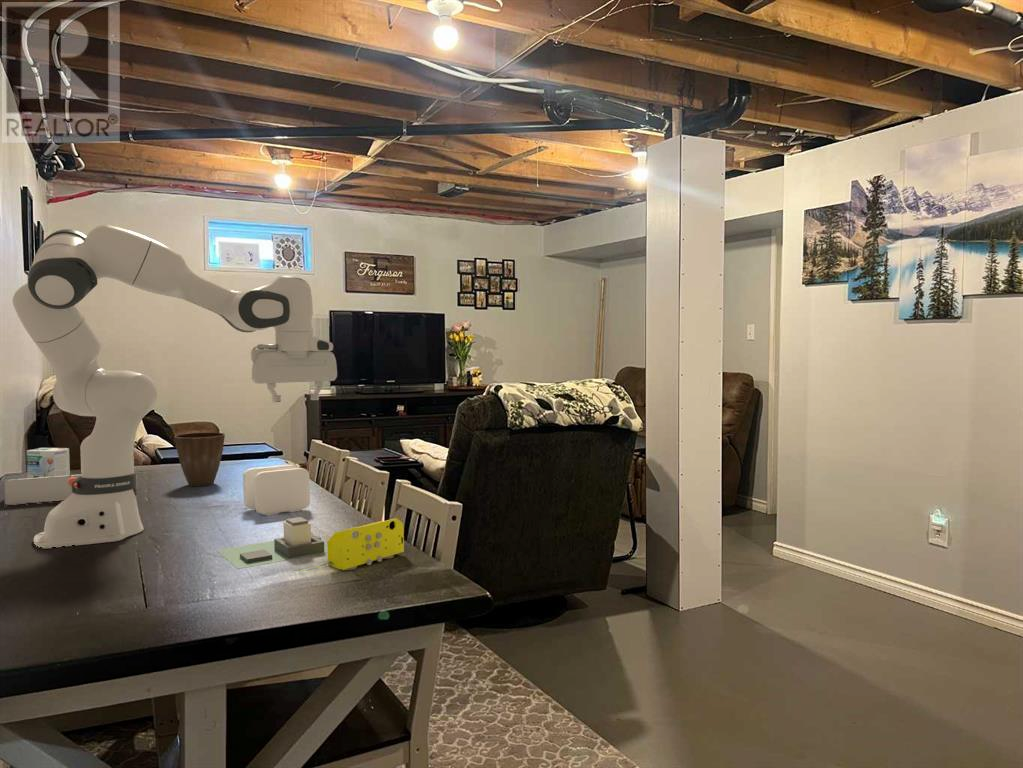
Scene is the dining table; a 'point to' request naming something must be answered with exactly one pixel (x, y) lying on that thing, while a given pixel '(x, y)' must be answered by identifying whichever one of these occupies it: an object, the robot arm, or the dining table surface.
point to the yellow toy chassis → (365, 544)
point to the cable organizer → (276, 489)
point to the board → (271, 552)
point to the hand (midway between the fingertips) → (296, 401)
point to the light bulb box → (48, 462)
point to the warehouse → (37, 489)
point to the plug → (297, 531)
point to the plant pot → (200, 456)
